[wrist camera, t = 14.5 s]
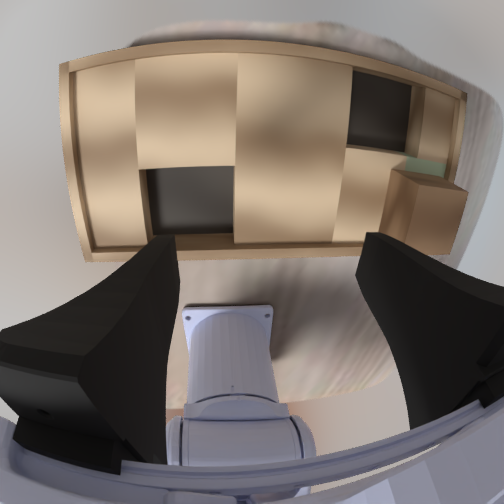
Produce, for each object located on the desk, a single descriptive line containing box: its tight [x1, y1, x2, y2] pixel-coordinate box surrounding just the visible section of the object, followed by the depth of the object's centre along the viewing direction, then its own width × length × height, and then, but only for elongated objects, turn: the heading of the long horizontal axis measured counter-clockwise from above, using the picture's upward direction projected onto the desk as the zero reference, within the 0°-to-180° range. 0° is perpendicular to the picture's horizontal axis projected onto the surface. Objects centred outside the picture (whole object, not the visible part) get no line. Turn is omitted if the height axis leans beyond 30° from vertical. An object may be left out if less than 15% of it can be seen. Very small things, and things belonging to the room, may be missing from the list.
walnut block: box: [378, 169, 468, 255], centre depth 18 cm, size 5×5×4 cm
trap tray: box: [59, 40, 467, 262], centre depth 17 cm, size 14×28×3 cm, turn 88°
